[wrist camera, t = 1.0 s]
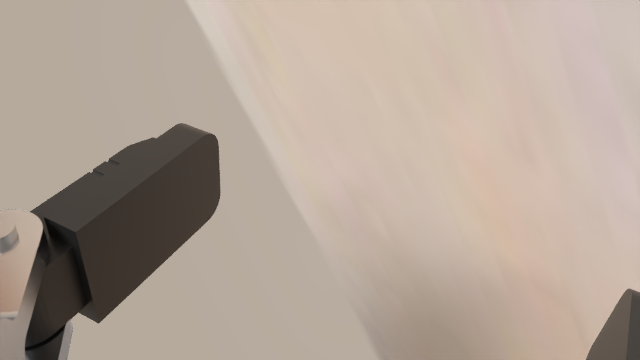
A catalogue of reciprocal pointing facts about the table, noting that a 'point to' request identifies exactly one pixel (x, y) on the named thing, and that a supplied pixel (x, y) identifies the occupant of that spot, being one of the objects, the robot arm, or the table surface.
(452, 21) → the table surface
